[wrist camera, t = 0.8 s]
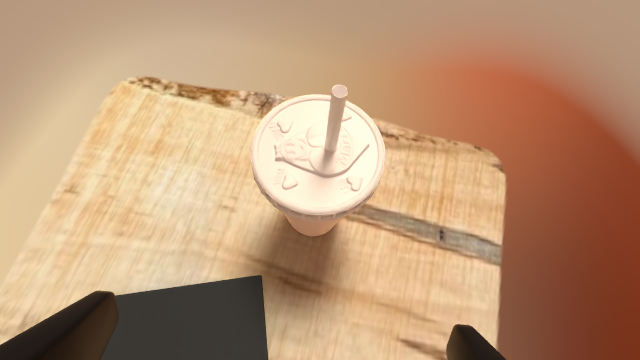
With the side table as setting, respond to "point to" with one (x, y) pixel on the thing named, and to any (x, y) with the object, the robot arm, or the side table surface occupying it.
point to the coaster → (192, 323)
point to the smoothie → (317, 159)
